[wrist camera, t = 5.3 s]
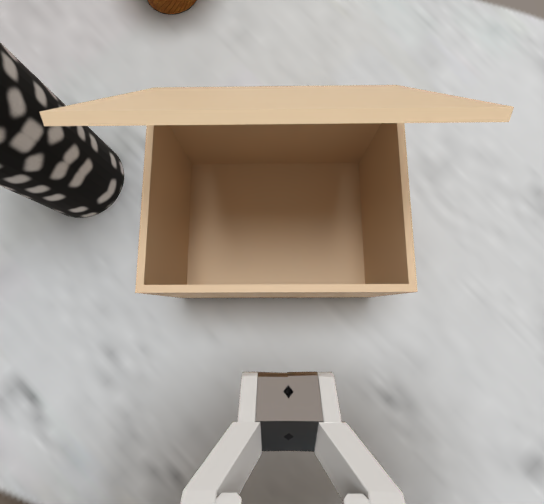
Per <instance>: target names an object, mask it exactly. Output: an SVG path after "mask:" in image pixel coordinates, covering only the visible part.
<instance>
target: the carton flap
mask: <svg viewBox="0 0 544 504" xmlns="http://www.w3.org/2000/svg"><path fill="white" fill-rule="evenodd" d="M513 108H514V107H512V106H506V105H501V104H495V103H490V102H485V101H479V100H474V99H469V98H463V97H458V96H452V95H447V94H442V93H436V92H431V91H426V90H420V89H415V88H409V87H404V86H399V85H350V86H257V87H164V88H150V89H145V90H141V91H136V92H131V93H126V94H121V95H117V96H112V97H107V98H102V99H97V100H93V101H88V102H83V103H78V104H73V105H69V106H64V107H59V108H54V109H50V110H45V111H40V115H41V118H42V121H43V124H44V126H129V125H235V124H342V123H448V122H509V120H510V117H511V114H512V111H513Z"/></svg>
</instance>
